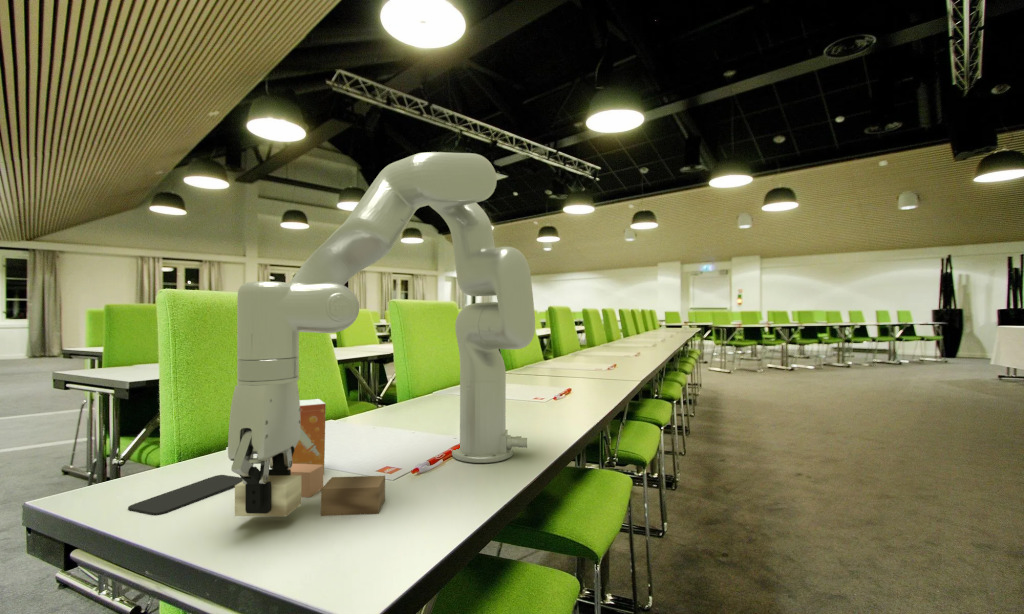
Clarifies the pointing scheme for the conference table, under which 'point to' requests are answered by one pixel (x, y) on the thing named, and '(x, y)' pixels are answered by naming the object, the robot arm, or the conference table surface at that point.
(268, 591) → the conference table surface
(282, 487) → the ash brick
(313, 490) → the terracotta brick
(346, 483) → the walnut brick
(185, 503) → the phone
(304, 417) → the small box
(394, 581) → the conference table surface
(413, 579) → the conference table surface
